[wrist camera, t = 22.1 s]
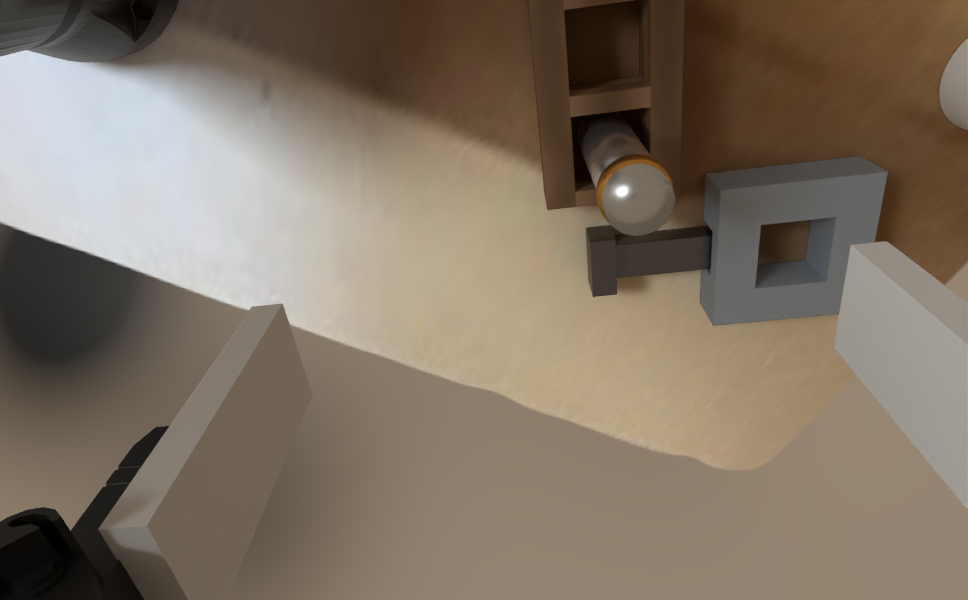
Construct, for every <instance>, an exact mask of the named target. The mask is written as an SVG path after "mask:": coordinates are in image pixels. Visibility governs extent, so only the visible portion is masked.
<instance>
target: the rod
mask: <svg viewBox="0 0 968 600" xmlns="http://www.w3.org/2000/svg"><path fill="white" fill-rule="evenodd" d="M578 144H579V147H580V149H581V152H582V154H583V157H584V160H585V162H586V165H587V167H588V170H589V173H590V175H591V178H592V180H593V183H594V185H595V188H596V199H597V202H598V205H599V208H600V210H601V213H602V215H603V216H604V218H605V219H606V220H607V221H608V222H609V223H610V224H611V225H612V226H613V227H614V228H615V229H616V230H618V231H619V232H621V233H624V234H627V235H632V236H640V235H645V234H649V233H651V232H654V231H655V230H657V229H659V228H660V227H661V226H662V225H664V224H665V222H666V221H667V220H668V219H669V217H670V216H671V214H672V211H673V209H674V205H675V194H674V190H673V184H672V181H671V178H670V176H669V175H668V173H667V172H666V171H665V169H664V168H663V166H662V165H661V164H660V163H659V162H658V161H656V160H655V159H653V158H652V157H651V156H650V154H649V153H648V151H647V150H646V149H645V147H644V146H643V144H642V143H641V141H640V140H639V139H638V137H637V136H636V134H635V133H634V132H633V130H632V129H631V127H630V126H629V125H628V123H627V122H626V120H625V119H624V118H623V117H622V116H621V115H620V114H619V113H617V112H608V113H600V114H592V115H588V116H587V117H586V118H585V119H584V120H583V122H582V123H581V125H580V127H579V130H578Z"/></svg>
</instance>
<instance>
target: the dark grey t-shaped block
mask: <svg viewBox="0 0 968 600" xmlns="http://www.w3.org/2000/svg"><path fill="white" fill-rule="evenodd" d="M712 236H713V234H712V233H711V231H710V230H709V229H708V227H707V226H700V227H691V228H682V229H672V230H663V231H654V232H651V233H649V234H645V235H640V236H632V235H627V234H626V235H617V236H614V235H613V233H612V230H611V227H610V225H608V226H599V227H590V228H586V242H587V260H588V279H589V284H590V288H591V291H592V295H593V297H595V296H605V295H615V294H617V279H616V278H623V277H632V276H642V275H652V274H662V273H672V272H681V271H691V270H701V269H711V255H712Z"/></svg>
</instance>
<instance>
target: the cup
mask: <svg viewBox="0 0 968 600" xmlns="http://www.w3.org/2000/svg"><path fill="white" fill-rule="evenodd" d="M939 99H940V105H941V108H942V111H943V112H944V114H945V116H946V117H947V118H948V119H949V120H950V122H952V123H953V124H954V125H956V126H958V127H960V128H962V129H965V130H967V131H968V38H967V39H966V40H965V41H964V42H963V43H962V44H961V45H960V46H959V47H958V49H957V50H956V51H955V53H954V54H953V55H952V57H951V58H950V60H949V62H948V64H947V66H946V68H945V70H944V72H943V75H942V78H941V82H940V88H939Z"/></svg>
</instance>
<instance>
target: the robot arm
mask: <svg viewBox="0 0 968 600" xmlns="http://www.w3.org/2000/svg"><path fill="white" fill-rule="evenodd" d="M177 2H178V0H0V56H4V55H8V54H12V53H16V52H20V51H24V50H29V51H32V52H36V53H40V54H44V55H47V56H51V57H55V58H59V59H63V60H68V61H75V62H101V61H107V60H111V59H115V58H118V57H122V56H125V55H129V54H132V53H134V52H137V51H139V50H141V49H143V48H144V47H146V46H147V45H149V44H150V43H151V42H153V41H154V40H155V39H156V38H157V37H158V36H159V35H160V34H161V33H162V31H163V30H164V29H165V27H166V26H167V24H168V23H169V21H170V19H171V17H172V15H173V13H174V11H175V8H176V5H177ZM833 348H834V349H835V350H836V351H837V352H838V354H839V355H840V356H841V357H842V358H843V360H844V361H845V362H846V363H847V365H848V366H849V367H850V368H851V369H852V371H853V372H854V373H855V374H856V375H857V377H858V378H859V379H860V380H861V381H862V383H863V384H864V385H865V386H866V387H867V389H868V390H869V391H870V392H871V393H872V395H873V396H874V397H875V398H876V400H877V401H878V402H879V403H880V404H881V406H882V407H883V408H884V409H885V410H886V412H887V413H888V414H889V415H890V417H891V418H892V419H893V420H894V421H895V422H896V424H897V425H898V426H899V427H900V429H901V430H902V431H903V432H904V433H905V435H906V436H907V437H908V438H909V439H910V441H911V442H912V443H913V444H914V445H915V447H916V448H917V449H918V450H919V451H920V452H921V454H922V455H923V456H924V457H925V459H926V460H927V461H928V462H929V464H930V465H931V466H932V467H933V468H934V470H935V471H936V472H937V473H938V474H939V476H940V477H941V478H942V479H943V481H944V482H945V483H946V484H947V485H948V487H949V488H950V489H951V490H952V491H953V493H954V494H955V495H956V496H957V498H958V499H959V500H960V501H961V502H962V504H963V505H964V506H965V507H966V508H967V510H968V303H967V302H966V301H964V300H963V299H962V298H960V297H959V296H958V295H956V294H955V293H954V292H953V291H951V290H950V289H949V288H947V287H946V286H945V285H943V284H942V283H941V282H939V281H938V280H937V279H936V278H934V277H933V276H932V275H930V274H929V273H928V272H926V271H925V270H924V269H922V268H921V267H920V266H919V265H917V264H916V263H915V262H913V261H912V260H911V259H909V258H908V257H907V256H905V255H904V254H903V253H902V252H900V251H899V250H898V249H896V248H895V247H894V246H892V245H891V244H890V243H889V242H887V241H884V242H874V243H865V244H855V245H851V247H850V253H849V259H848V265H847V271H846V277H845V282H844V288H843V294H842V300H841V306H840V312H839V318H838V324H837V329H836V335H835V341H834V347H833ZM311 397H312V392H311V389H310V386H309V382H308V379H307V377H306V373H305V371H304V367H303V364H302V361H301V359H300V355H299V352H298V350H297V346H296V343H295V340H294V337H293V334H292V331H291V328H290V325H289V322H288V319H287V316H286V313H285V310H284V307H283V304H275V305H265V306H255V307H251V309H250V310H249V312H248V313H247V315H246V316H245V318H244V319H243V321H242V322H241V323H240V325H239V326H238V328H237V329H236V331H235V332H234V334H233V335H232V336H231V338H230V339H229V341H228V342H227V344H226V345H225V347H224V348H223V349H222V351H221V352H220V354H219V355H218V357H217V358H216V360H215V361H214V362H213V364H212V366H211V367H210V368H209V370H208V371H207V373H206V374H205V375H204V377H203V378H202V380H201V381H200V383H199V384H198V386H197V387H196V388H195V390H194V391H193V393H192V394H191V396H190V397H189V399H188V400H187V402H186V403H185V404H184V406H183V407H182V409H181V410H180V412H179V413H178V415H177V416H176V418H175V419H174V420H173V422H172V423H171V425H170V426H165V427H156V428H154V429H153V430H152V431H151V432H150V433H148V434H147V435H146V436H145V437H143V439H141V440H140V441H139V442H137V443H136V444H135V445H134V446H133V447H132V448H131V450H130V451H129V452H128V454H127V455H126V456H125V458H124V459H123V461H122V462H121V463H120V465H119V469H118V470H115V471H114V473H113V474H112V475H111V477H110V478H109V479H108V481H107V482H106V487H103V488H102V489H101V490H100V492H99V493H98V494H97V496H96V497H95V498H94V500H93V501H92V503H91V504H90V505H89V507H88V508H87V509H86V511H85V512H84V513H83V515H82V516H81V518H80V519H79V520H78V522H77V523H76V524H75V526H74V527H73V528H72V530H71V531H70V530H69V528H68V527H67V525H66V524H65V522H64V520H63V519H62V517H61V516H60V515H59V514H58V512H57V511H56V510H54V509H49V508H44V507H42V508H36V509H30V510H25V511H23V512H20V513H18V514H15V515H12V516H10V517H7V518H6V519H4V520H3V521H1V522H0V600H226V599H227V596H228V594H229V592H230V589H231V587H232V585H233V582H234V580H235V577H236V575H237V573H238V570H239V568H240V565H241V563H242V561H243V558H244V556H245V554H246V551H247V548H248V546H249V544H250V542H251V539H252V537H253V534H254V532H255V530H256V528H257V525H258V523H259V520H260V517H261V516H262V513H263V511H264V508H265V506H266V504H267V501H268V499H269V497H270V494H271V492H272V490H273V487H274V485H275V482H276V480H277V478H278V475H279V473H280V470H281V468H282V466H283V463H284V461H285V459H286V456H287V454H288V452H289V449H290V447H291V444H292V442H293V440H294V437H295V435H296V432H297V430H298V428H299V425H300V423H301V421H302V418H303V416H304V413H305V411H306V409H307V406H308V404H309V402H310V399H311Z"/></svg>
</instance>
